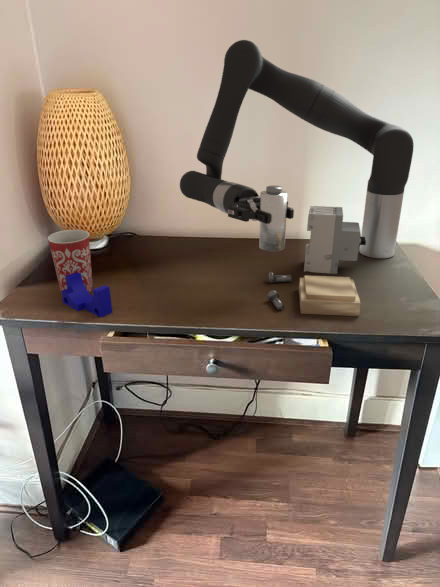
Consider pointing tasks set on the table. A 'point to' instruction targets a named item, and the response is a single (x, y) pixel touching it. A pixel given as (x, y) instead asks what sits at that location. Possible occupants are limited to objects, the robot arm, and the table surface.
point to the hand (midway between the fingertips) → (280, 216)
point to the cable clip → (86, 296)
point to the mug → (71, 256)
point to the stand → (328, 296)
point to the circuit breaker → (330, 240)
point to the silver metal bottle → (273, 219)
